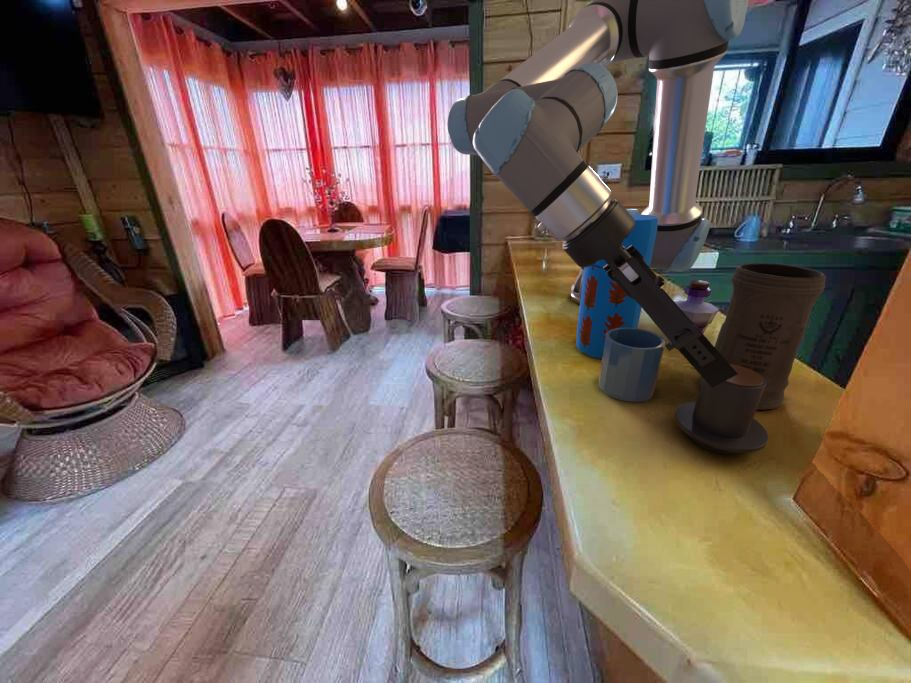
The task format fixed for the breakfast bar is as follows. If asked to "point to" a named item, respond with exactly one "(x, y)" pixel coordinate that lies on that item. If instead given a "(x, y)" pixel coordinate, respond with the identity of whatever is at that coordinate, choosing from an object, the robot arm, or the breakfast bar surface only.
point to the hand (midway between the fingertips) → (701, 351)
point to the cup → (630, 363)
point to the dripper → (726, 414)
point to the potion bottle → (698, 304)
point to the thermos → (611, 293)
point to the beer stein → (768, 322)
